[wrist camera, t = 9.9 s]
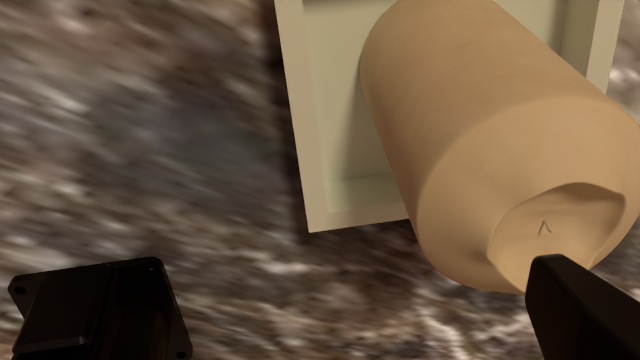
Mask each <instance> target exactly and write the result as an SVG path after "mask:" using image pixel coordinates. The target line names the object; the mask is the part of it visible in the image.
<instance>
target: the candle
mask: <svg viewBox="0 0 640 360" xmlns="http://www.w3.org/2000/svg"><path fill="white" fill-rule="evenodd" d="M360 80H361V86H362V91H363V94H364V97H365V100H366V103H367V106H368V108H369V111H370V114H371V116H372V119H373V122H374V124H375V127H376V130H377V133H378V135H379V138H380V141H381V143H382V146H383V149H384V151H385V154H386V157H387V159H388V162H389V165H390V168H391V170H392V173H393V176H394V178H395V181H396V184H397V186H398V189H399V192H400V194H401V197H402V200H403V203H404V205H405V208H406V211H407V213H408V216H409V219H410V221H411V224H412V227H413V229H414V232H415V235H416V237H417V240H418V243H419V245H420V248H421V250H422V252H423V253H424V255H425V257H426V258H427V260H428V261H429V262H430V263H431V264H432V266H433V267H434V268H435V269H437V270H438V271H439V272H440V273H441V274H443V275H444V276H446V277H448V278H449V279H451V280H453V281H455V282H457V283H460V284H462V285H465V286H469V287H472V288H476V289H483V290H489V291H497V292H505V293H513V294H519V295H525V291H526V286H527V281H528V276H529V271H530V266H531V263H532V260H533V259H534V257H536V256H539V255H547V254H556V253H557V254H563V255H565V256H567V257H568V258H570V259H571V260H573V261H575V262H576V263H578V264H579V265H581V266H583V267H584V268H586V269H587V270H589V269H590V268H592V267H593V266H594V265H596V264H597V263H598V262H599V261H601V260H602V259H603V258H604V257H606V256H607V255H608V254H609V253H610V252H611V251H612V250H613V249H614V248H615V247H616V246H617V245H618V244H619V243H620V241H621V240H622V239H623V238H624V236H625V235H626V234H627V232H628V231H629V230H630V228H631V227H632V225H633V224H634V222H635V220H636V218H637V217H638V215H639V213H640V126H639V125H638V123H637V122H636V121H635V120H634V119H633V118H632V117H631V116H630V115H629V114H628V113H626V112H625V111H624V110H623V109H622V108H621V107H620V106H618V105H617V104H616V103H615V102H614V101H612V100H611V99H610V98H609V97H608V96H606V95H605V94H604V93H603V92H602V91H601V90H599V89H598V88H597V87H596V86H595V85H593V84H592V83H591V82H590V81H589V80H588V79H586V78H585V77H584V76H583V75H582V74H580V73H579V72H578V71H577V70H576V69H574V68H573V67H572V66H571V65H570V64H569V63H567V62H566V61H565V60H564V59H563V58H561V57H560V56H559V55H558V54H557V53H555V52H554V51H553V50H552V49H551V48H550V47H548V46H547V45H546V44H545V43H544V42H542V41H541V40H540V39H539V38H538V37H536V36H535V35H534V34H533V33H532V32H531V31H529V30H528V29H527V28H526V27H525V26H523V25H522V24H521V23H520V22H519V21H517V20H516V19H515V18H514V17H513V16H512V15H510V14H509V13H508V12H507V11H506V10H504V9H503V8H502V7H501V6H499V5H498V4H497V3H496V2H494V1H493V0H399V1H397V2H396V3H395V4H393V5H392V6H391V7H390V8H389V9H387V10H386V11H385V12H384V13H383V14H382V16H381V17H380V18H379V19H378V20H377V22H376V23H375V25H374V26H373V28H372V29H371V31H370V33H369V35H368V37H367V39H366V41H365V44H364V47H363V50H362V55H361V61H360Z"/></svg>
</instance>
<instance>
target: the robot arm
mask: <svg viewBox="0 0 640 360" xmlns="http://www.w3.org/2000/svg"><path fill="white" fill-rule="evenodd" d="M148 267H151V268H154V270H149V269H147V268H148ZM19 286H22V287H24V288H21V287H19ZM8 292H9V294H10V296H11V297H12V299H13V301H14V302H15V304H16V306H17V307H18V309H19V311H20V313H21V314H22V316H23V318H24V319H25V321H24V323H23V325H22V327H21V330H20V332H19V334H18V337H17V339H16V341H15V343H14V346H13V348H12V352H13V357H12V359H11V360H189V359H191V357H192V351H193V347H192V344H191V341H190V339H189V336H188V333H187V330H186V327H185V324H184V322H183V319H182V316H181V313H180V310H179V308H178V305H177V302H176V299H175V296H174V293H173V291H172V288H171V285H170V282H169V279H168V276H167V274H166V271H165V268H164V265H163V263H162V261H161V260H159V259H158V258H155V257H143V258H136V259H129V260H122V261H116V262H109V263H102V264H95V265H88V266H81V267H74V268H67V269H60V270H53V271H46V272H39V273H32V274H25V275H18V276H15V277H14V278H13V279H12V280H11V282H10V284H9V286H8ZM525 304H526V308H527V311H528V314H529V317H530V320H531V323H532V326H533V328H534V331H535V334H536V337H537V340H538V343H539V345H540V348H541V351H542V354H543V357H544V360H640V302H639V301H637V300H635V299H634V298H632V297H631V296H629V295H627V294H626V293H624V292H623V291H621V290H619V289H618V288H616V287H615V286H613V285H611V284H610V283H608V282H607V281H605V280H603V279H602V278H600V277H599V276H597V275H595V274H594V273H592V272H591V271H589V270H587V269H586V268H584V267H583V266H581V265H579V264H578V263H576V262H575V261H573V260H571V259H570V258H568V257H567V256H565V255H563V254H557V253H556V254H547V255H539V256H536V257H534V259H533V260H532V263H531V266H530V271H529V276H528V281H527V286H526V291H525Z"/></svg>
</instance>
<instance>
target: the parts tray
mask: <svg viewBox="0 0 640 360" xmlns="http://www.w3.org/2000/svg"><path fill="white" fill-rule="evenodd" d="M397 1H399V0H274V2H275V9H276V15H277V22H278V29H279V35H280V42H281V49H282V55H283V62H284V69H285V75H286V82H287V89H288V96H289V102H290V109H291V116H292V122H293V129H294V136H295V142H296V149H297V156H298V162H299V169H300V176H301V182H302V189H303V196H304V202H305V209H306V216H307V222H308V229H309V233H311V232H318V231H325V230H332V229H339V228H346V227H353V226H360V225H367V224H374V223H381V222H388V221H395V220H402V219H409V216H408V213H407V211H406V208H405V205H404V203H403V200H402V197H401V194H400V192H399V189H398V186H397V184H396V181H395V178H394V176H393V173H392V170H391V168H390V165H389V162H388V159H387V157H386V154H385V151H384V149H383V146H382V143H381V141H380V138H379V135H378V133H377V130H376V127H375V124H374V122H373V119H372V116H371V114H370V111H369V108H368V106H367V103H366V100H365V97H364V94H363V91H362V86H361V80H360V61H361V55H362V50H363V47H364V44H365V41H366V39H367V37H368V35H369V33H370V31H371V29H372V28H373V26H374V25H375V23H376V22H377V20H378V19H379V18H380V17H381V16H382V14H383V13H384V12H385V11H386V10H387V9H389V8H390V7H391V6H392V5H393V4H395V3H396V2H397ZM493 1H494V2H496V3H497V4H498V5H499V6H501V7H502V8H503V9H504V10H506V11H507V12H508V13H509V14H510V15H512V16H513V17H514V18H515V19H516V20H517V21H519V22H520V23H521V24H522V25H523V26H525V27H526V28H527V29H528V30H529V31H531V32H532V33H533V34H534V35H535V36H536V37H538V38H539V39H540V40H541V41H542V42H544V43H545V44H546V45H547V46H548V47H550V48H551V49H552V50H553V51H554V52H555V53H557V54H558V55H559V56H560V57H561V58H563V59H564V60H565V61H566V62H567V63H569V64H570V65H571V66H572V67H573V68H574V69H576V70H577V71H578V72H579V73H580V74H582V75H583V76H584V77H585V78H586V79H588V80H589V81H590V82H591V83H592V84H593V85H595V86H596V87H597V88H598V89H599V90H601V91H602V92H603V93H604V94H605V95H606V91H607V86H608V81H609V76H610V71H611V66H612V61H613V56H614V51H615V46H616V41H617V36H618V31H619V26H620V21H621V16H622V11H623V6H624V1H625V0H493Z"/></svg>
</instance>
